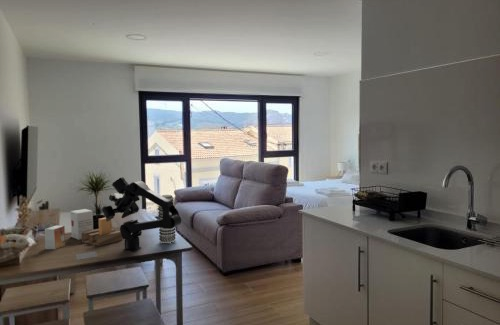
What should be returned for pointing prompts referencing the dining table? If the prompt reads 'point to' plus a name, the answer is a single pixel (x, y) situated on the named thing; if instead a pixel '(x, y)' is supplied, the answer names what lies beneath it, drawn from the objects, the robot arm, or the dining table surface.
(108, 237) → the rack
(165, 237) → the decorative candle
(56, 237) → the small box
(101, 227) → the rectangular block
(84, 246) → the dining table surface
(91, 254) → the mat
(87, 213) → the supplement box
